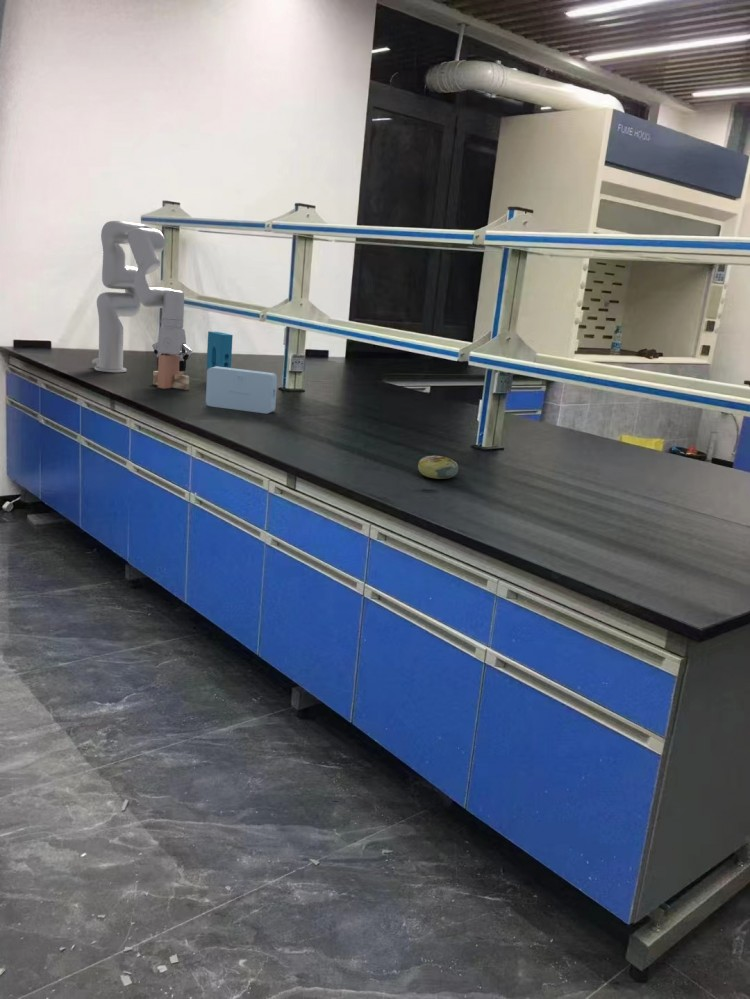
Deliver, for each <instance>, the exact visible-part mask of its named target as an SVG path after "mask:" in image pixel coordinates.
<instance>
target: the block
mask: <svg viewBox="0 0 750 999" xmlns="http://www.w3.org/2000/svg"><path fill="white" fill-rule="evenodd" d="M232 352H233V334H230V333H225V332H220V331H211V330H209V331H208V332H207V349H206V371H207V370H208V369H209V368H212V367H216V366H218V367H226V368H232Z"/></svg>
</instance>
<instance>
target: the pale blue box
mask: <svg viewBox="0 0 750 999" xmlns="http://www.w3.org/2000/svg"><path fill="white" fill-rule="evenodd" d="M277 385H278V376H277V374H276V373H275V372H267V371H260V370H251V369H241V368H234V367H231V368H226V367H218V366H216V367H212V368H209V369H208V370H207V369H206V387H205V388H206V389H205V390H206V391H205V404H206V405H207V407H213V408H220V409H221V408H222V409H230V410H237V411H245V412H253V413H259V414H260V413H261V414H265V415H266V414H269V413H272V412H274V411H275V410H276V404H277V403H276V402H277V401H276V400H277V389H278V388H277V387H278V386H277Z"/></svg>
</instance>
